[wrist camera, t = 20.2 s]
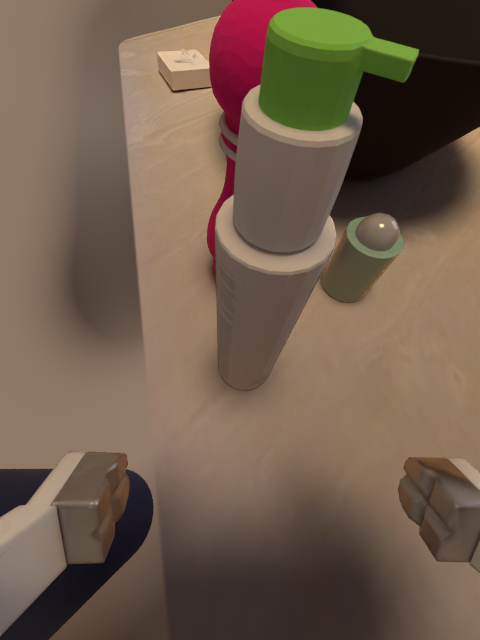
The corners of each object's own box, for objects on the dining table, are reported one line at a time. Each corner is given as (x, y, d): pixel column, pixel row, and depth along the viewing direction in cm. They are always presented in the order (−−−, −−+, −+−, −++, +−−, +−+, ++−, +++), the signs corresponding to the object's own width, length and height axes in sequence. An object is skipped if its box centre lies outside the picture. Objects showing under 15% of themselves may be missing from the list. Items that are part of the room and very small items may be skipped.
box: (253, 54, 54) (256, 32, 51) (282, 79, 49) (286, 56, 46) (152, 61, 48) (148, 36, 45) (173, 90, 43) (170, 65, 41)
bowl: (243, 72, 48) (252, -77, 35) (446, 104, 47) (534, -37, 34) (191, 206, 31) (171, 16, 18) (507, 261, 30) (728, 101, 17)
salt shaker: (319, 296, 27) (355, 233, 19) (322, 261, 29) (356, 192, 22) (366, 307, 26) (420, 247, 19) (366, 270, 29) (415, 204, 21)
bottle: (242, 402, 21) (342, 103, 4) (207, 362, 23) (163, 7, 5) (280, 367, 23) (475, 41, 5) (245, 331, 24) (310, -21, 7)
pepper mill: (293, 264, 28) (411, -66, 11) (254, 313, 25) (331, -37, 8) (236, 232, 30) (259, -100, 12) (193, 274, 27) (144, -86, 9)
